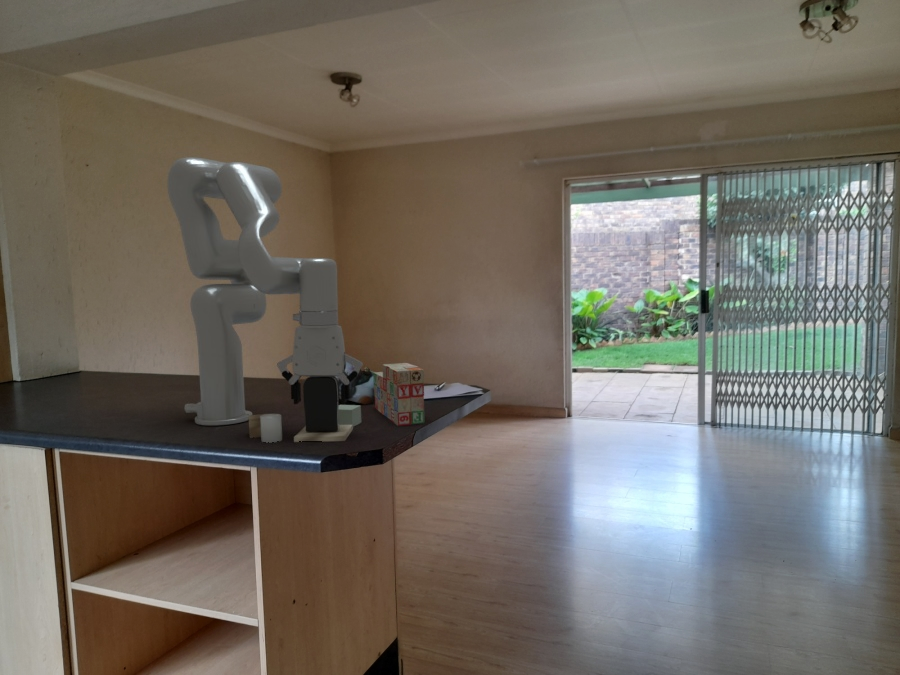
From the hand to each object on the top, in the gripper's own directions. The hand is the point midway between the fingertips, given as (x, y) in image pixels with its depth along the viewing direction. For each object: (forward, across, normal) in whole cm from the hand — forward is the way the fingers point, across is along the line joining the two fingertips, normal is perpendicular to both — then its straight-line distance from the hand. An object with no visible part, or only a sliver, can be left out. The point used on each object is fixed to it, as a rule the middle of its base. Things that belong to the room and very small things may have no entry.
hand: (320, 402), depth 126 cm
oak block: (+7, -13, +2) cm, 15 cm away
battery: (+6, 0, 0) cm, 6 cm away
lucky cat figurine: (+7, +2, +37) cm, 38 cm away
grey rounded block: (+7, -9, -4) cm, 12 cm away
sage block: (+7, +4, +10) cm, 12 cm away
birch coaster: (+7, +1, 0) cm, 7 cm away
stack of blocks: (+7, +14, +18) cm, 24 cm away
